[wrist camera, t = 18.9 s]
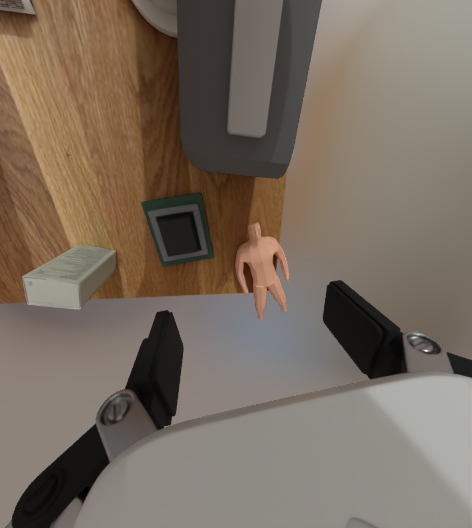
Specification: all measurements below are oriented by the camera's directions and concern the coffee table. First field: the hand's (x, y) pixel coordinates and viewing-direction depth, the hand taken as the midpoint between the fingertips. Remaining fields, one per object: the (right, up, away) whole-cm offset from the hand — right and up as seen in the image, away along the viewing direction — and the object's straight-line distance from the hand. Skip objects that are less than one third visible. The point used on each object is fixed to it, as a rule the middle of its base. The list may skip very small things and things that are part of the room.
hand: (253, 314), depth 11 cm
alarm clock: (-2, +26, +18) cm, 31 cm away
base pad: (-11, +9, +24) cm, 28 cm away
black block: (-11, +9, +23) cm, 27 cm away
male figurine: (+8, -10, +35) cm, 37 cm away
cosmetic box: (-26, +4, +24) cm, 36 cm away
